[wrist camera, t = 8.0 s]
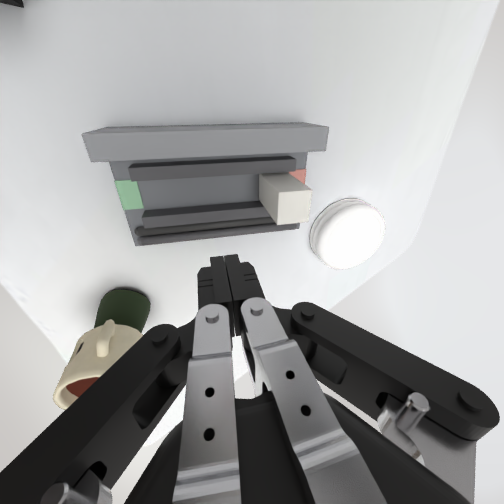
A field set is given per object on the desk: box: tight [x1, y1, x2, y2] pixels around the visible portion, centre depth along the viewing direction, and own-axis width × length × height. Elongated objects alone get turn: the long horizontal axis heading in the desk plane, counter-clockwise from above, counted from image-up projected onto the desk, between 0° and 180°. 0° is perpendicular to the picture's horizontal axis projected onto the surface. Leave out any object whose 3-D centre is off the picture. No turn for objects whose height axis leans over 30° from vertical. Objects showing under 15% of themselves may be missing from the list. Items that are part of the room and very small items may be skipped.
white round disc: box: [310, 199, 385, 270], centre depth 34 cm, size 10×10×4 cm
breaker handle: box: [259, 172, 312, 225], centre depth 24 cm, size 3×3×7 cm
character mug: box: [53, 290, 150, 410], centre depth 28 cm, size 11×7×13 cm, turn 165°
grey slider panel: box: [82, 123, 329, 246], centre depth 25 cm, size 12×20×6 cm, turn 91°
